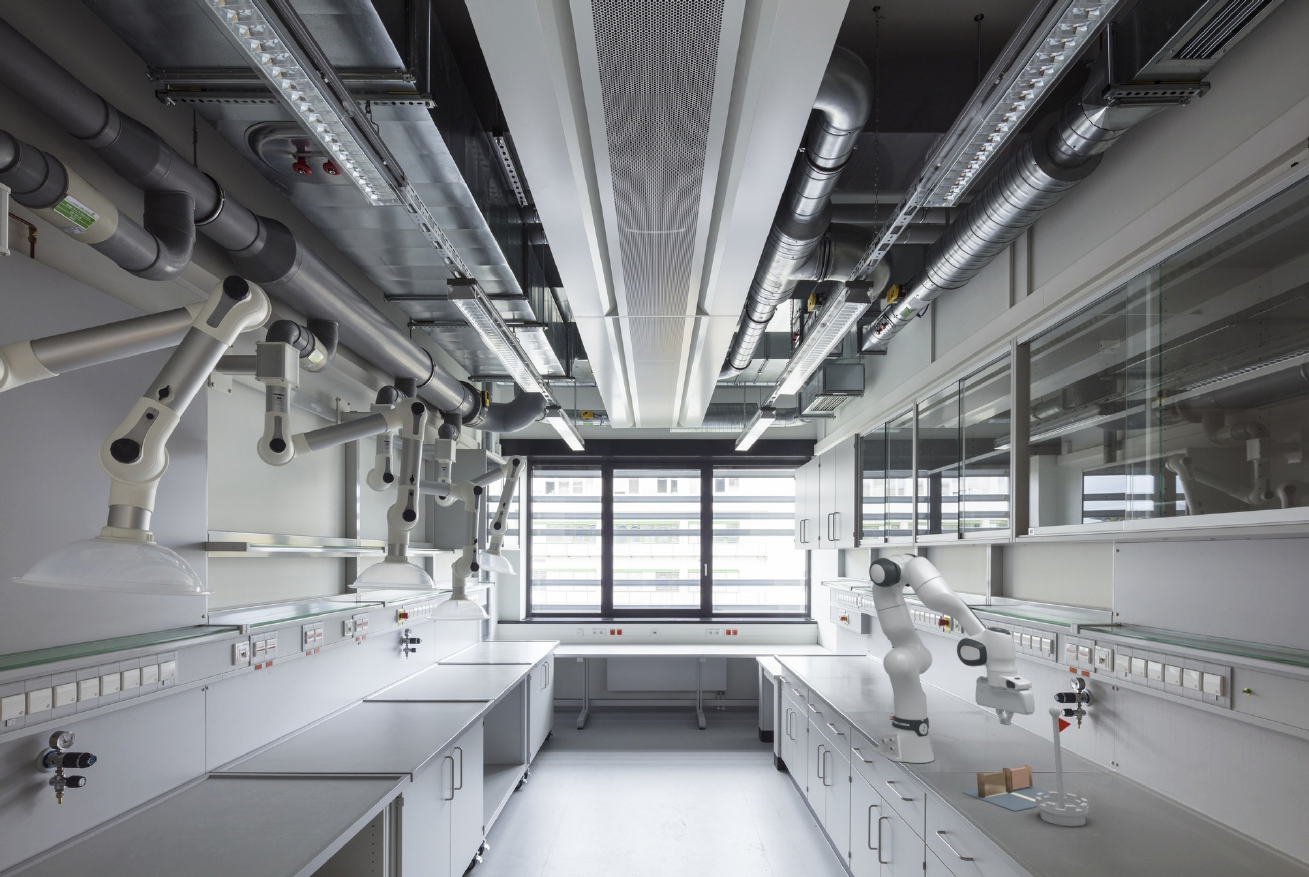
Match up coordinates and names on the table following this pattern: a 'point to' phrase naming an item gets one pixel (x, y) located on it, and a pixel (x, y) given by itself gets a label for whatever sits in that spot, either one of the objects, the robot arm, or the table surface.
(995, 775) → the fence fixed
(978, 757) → the table surface
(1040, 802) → the flag stand
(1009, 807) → the board
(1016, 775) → the fence section
